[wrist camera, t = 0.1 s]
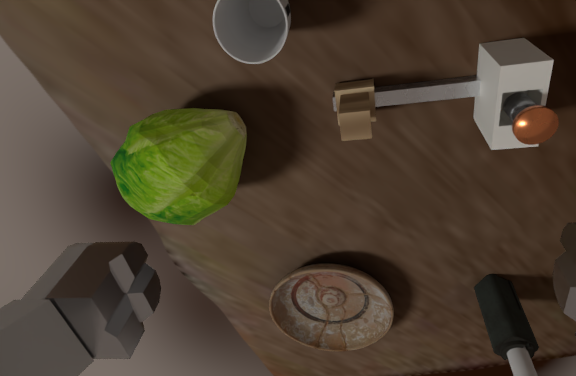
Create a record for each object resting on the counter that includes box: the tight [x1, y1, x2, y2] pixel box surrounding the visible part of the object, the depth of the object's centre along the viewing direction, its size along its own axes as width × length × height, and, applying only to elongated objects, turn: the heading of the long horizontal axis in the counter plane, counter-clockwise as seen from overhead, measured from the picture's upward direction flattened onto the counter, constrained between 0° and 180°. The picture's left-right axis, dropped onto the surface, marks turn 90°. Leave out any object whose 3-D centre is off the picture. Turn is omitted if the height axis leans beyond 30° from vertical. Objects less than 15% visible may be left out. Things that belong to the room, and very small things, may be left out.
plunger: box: [503, 92, 559, 145], centre depth 43 cm, size 4×4×6 cm
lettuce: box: [111, 108, 247, 225], centre depth 57 cm, size 17×20×15 cm
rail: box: [333, 75, 481, 111], centre depth 53 cm, size 2×18×2 cm, turn 100°
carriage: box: [335, 79, 376, 141], centre depth 51 cm, size 5×5×9 cm
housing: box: [474, 38, 554, 150], centre depth 48 cm, size 10×5×9 cm, turn 10°
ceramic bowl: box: [269, 263, 394, 351], centre depth 77 cm, size 23×24×5 cm
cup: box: [213, 0, 291, 64], centre depth 47 cm, size 8×8×10 cm
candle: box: [474, 274, 539, 376], centre depth 61 cm, size 5×5×25 cm
